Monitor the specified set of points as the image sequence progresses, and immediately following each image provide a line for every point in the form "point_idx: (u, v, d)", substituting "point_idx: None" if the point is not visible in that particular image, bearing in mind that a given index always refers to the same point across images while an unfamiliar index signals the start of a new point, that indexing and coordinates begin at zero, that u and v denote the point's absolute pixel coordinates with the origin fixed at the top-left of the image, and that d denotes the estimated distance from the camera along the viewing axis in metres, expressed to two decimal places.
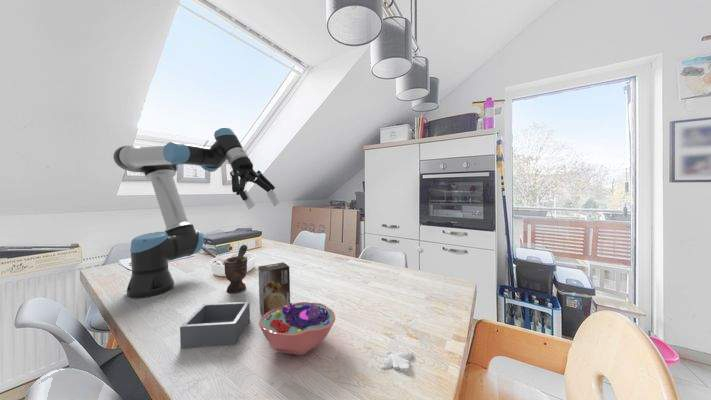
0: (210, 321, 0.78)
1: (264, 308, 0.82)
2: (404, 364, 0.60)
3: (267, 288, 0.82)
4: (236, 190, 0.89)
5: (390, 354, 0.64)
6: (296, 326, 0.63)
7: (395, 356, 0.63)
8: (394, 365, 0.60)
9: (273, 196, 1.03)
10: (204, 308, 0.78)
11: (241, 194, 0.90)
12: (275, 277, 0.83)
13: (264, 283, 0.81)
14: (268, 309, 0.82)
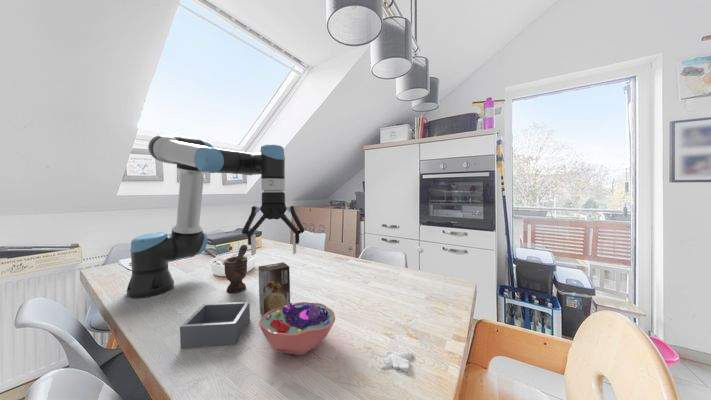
0: (210, 321, 0.78)
1: (264, 308, 0.82)
2: (404, 363, 0.60)
3: (267, 288, 0.82)
4: None
5: (390, 354, 0.64)
6: (296, 326, 0.63)
7: (395, 356, 0.63)
8: (394, 365, 0.60)
9: (293, 243, 0.85)
10: (204, 308, 0.78)
11: None
12: (275, 277, 0.83)
13: (264, 283, 0.81)
14: (268, 309, 0.82)
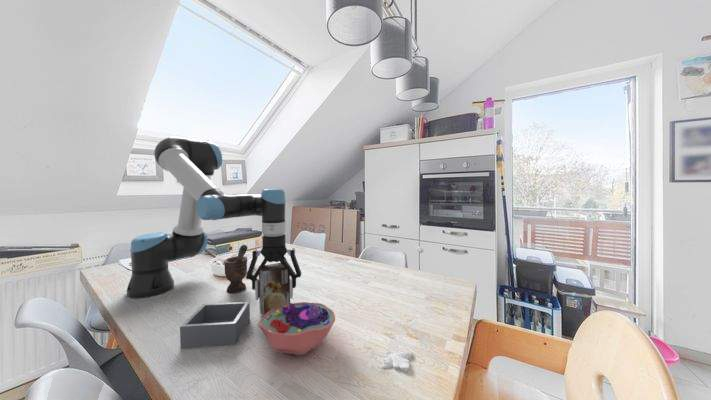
0: (210, 321, 0.78)
1: (264, 308, 0.82)
2: (404, 363, 0.60)
3: (267, 288, 0.82)
4: None
5: (390, 354, 0.65)
6: (296, 326, 0.63)
7: (395, 356, 0.63)
8: (394, 365, 0.60)
9: (290, 288, 0.86)
10: (204, 308, 0.78)
11: None
12: (275, 276, 0.83)
13: (264, 283, 0.81)
14: (268, 309, 0.82)
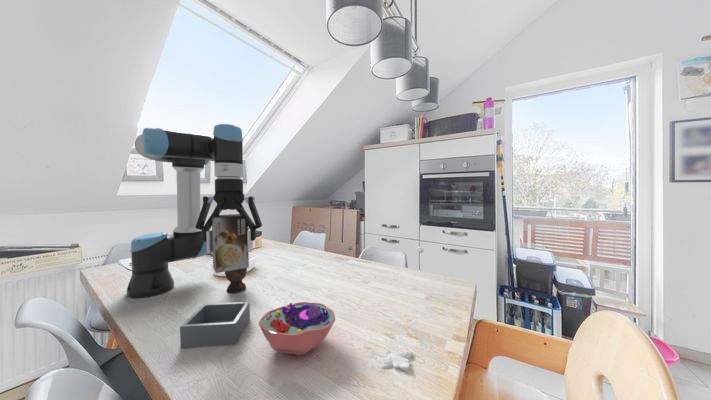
0: (210, 321, 0.78)
1: (216, 261, 0.71)
2: (404, 363, 0.60)
3: (219, 238, 0.71)
4: None
5: (390, 353, 0.65)
6: (296, 326, 0.63)
7: (395, 355, 0.64)
8: (394, 364, 0.60)
9: None
10: (204, 308, 0.78)
11: None
12: (229, 225, 0.72)
13: (216, 231, 0.70)
14: (221, 262, 0.71)
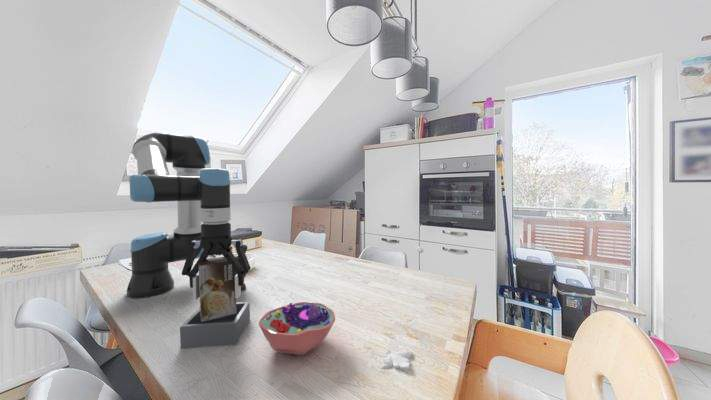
0: (210, 321, 0.78)
1: (201, 309, 0.69)
2: (404, 363, 0.61)
3: (205, 286, 0.69)
4: None
5: (390, 353, 0.65)
6: (296, 326, 0.63)
7: (395, 355, 0.64)
8: (394, 364, 0.60)
9: None
10: None
11: None
12: (215, 272, 0.70)
13: (201, 280, 0.68)
14: (207, 311, 0.69)
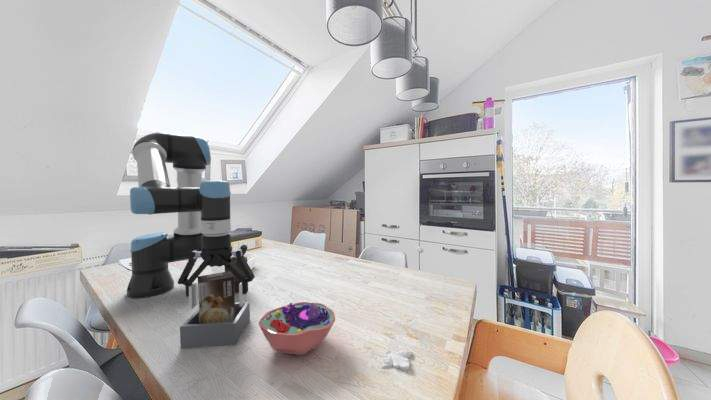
0: None
1: None
2: (404, 362, 0.61)
3: (204, 303, 0.69)
4: None
5: (390, 353, 0.65)
6: (296, 326, 0.63)
7: (395, 355, 0.64)
8: (394, 364, 0.60)
9: None
10: None
11: None
12: (214, 289, 0.70)
13: (200, 297, 0.68)
14: None
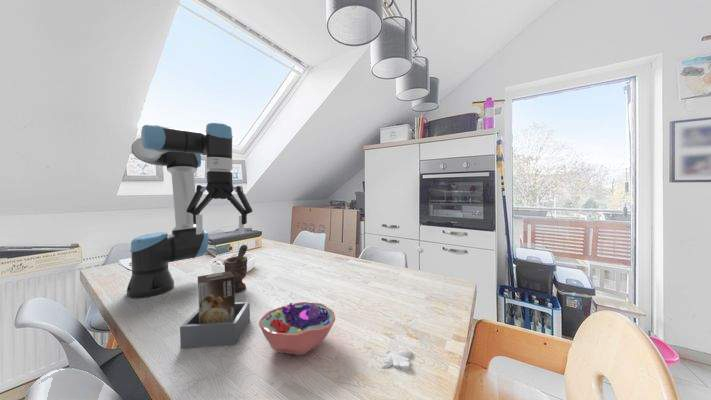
0: None
1: None
2: (404, 362, 0.61)
3: (204, 303, 0.69)
4: None
5: (390, 353, 0.65)
6: (296, 326, 0.63)
7: (395, 355, 0.64)
8: (395, 363, 0.60)
9: None
10: None
11: None
12: (214, 289, 0.70)
13: (200, 297, 0.68)
14: None
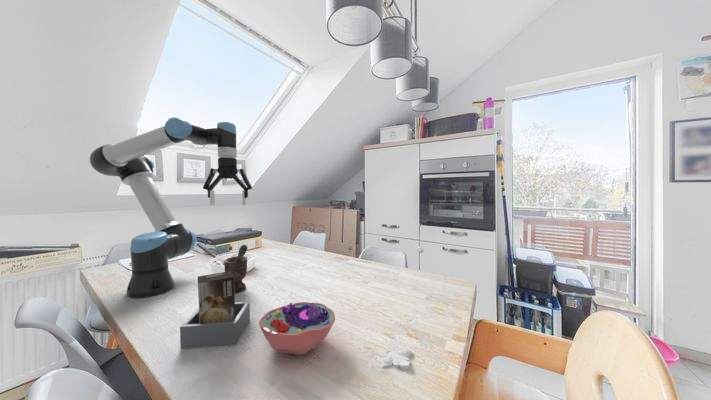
0: None
1: None
2: (404, 361, 0.61)
3: (204, 303, 0.69)
4: (205, 188, 1.11)
5: (389, 353, 0.65)
6: (296, 326, 0.63)
7: (395, 354, 0.64)
8: (395, 363, 0.61)
9: None
10: None
11: None
12: (214, 289, 0.70)
13: (200, 297, 0.68)
14: None
